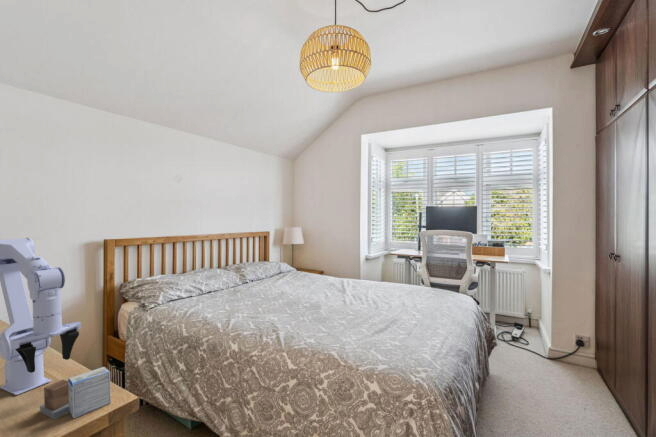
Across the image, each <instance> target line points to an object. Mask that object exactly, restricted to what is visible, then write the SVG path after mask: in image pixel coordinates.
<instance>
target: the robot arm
mask: <svg viewBox="0 0 656 437" xmlns="http://www.w3.org/2000/svg"><path fill="white" fill-rule="evenodd" d="M34 242H35V241H34V240H33V239H32V238H31V237H25V238H23V237H22V238H11V239H9V238H8V239H0V287H1V289H2V296H3V299H4V304H5V308H6V313H7V316H8V317H7V318H8V321H9V326H8V327H6V328H5V329H4V330H3V331H2V332H1V333H0V356H1V358H2V359H3V360H5V363H4V385H2V386H1V385H0V389H2V390H4V391H5V392H8V393H10V394H12V395H15V396H18V395H20V394H23V393H25V392H28V391H30V390H33V389H35V388H39V387H40V386H43V385H45V384H48V383H50V382H51V380H52V379H51V378H48V377H45V373H44V372H45V371H44V353H46V349H48V348H49V346H50V345H51V340H52V339H51V338H53V337H57V336H60V342H61V353H62V354H61V355H62V359H64V360H66V361H68V360H70V358H71V354H72V350H73V348H74V345H75V344H76V341H77V339H78V338H79V336H80V331H79V330H82V322H80V321H75V322H74V321H73V322H70V323H66V324H63V317H62V316H63V313H62V310H63V309H62V289H63V288H64V287H65V285H66V284H65V283H66V277H65V276H66V275H65V272H64V269H62V267H60V266H59V267H53V266H52V265H51V264H50V263H48V262H47V261H46V260H45V258H43V257H42V256H40V255H35V252H36V251H35V250H36V249H35V243H34ZM22 275H23V276H22ZM23 277H24V278H25V279H26V280H27V281H26V284H27V289H28V291H29V298H30V300H31V301H32V302H31V303H32V310H31V307H30V303H29V300H28V296H27V291H26V288H25V283H24V280H23ZM31 311H32V312H31Z"/></svg>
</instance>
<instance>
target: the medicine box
mask: <svg viewBox="0 0 656 437" xmlns="http://www.w3.org/2000/svg"><path fill="white" fill-rule="evenodd" d="M67 381H68V392H69V411H70V412H69V413H70V414H71V416H72V418H73V419H77V418H79V417H81V416H84V415H85V414H88V413H91V412H93V411H95V410H98V409H99V408H102V407H104V406H105V407H106V406H107V405H110V404H111V403H112V396H111V394H112V393H111V391H112V390H111V371H109V369H108V368H107V367H105V366H102V367H99V368H95V369H92V370H90V371H87V372H83V373H80V374H78V375H75V376H72V377H69V378H68V379H67Z"/></svg>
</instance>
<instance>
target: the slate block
mask: <svg viewBox="0 0 656 437" xmlns="http://www.w3.org/2000/svg"><path fill="white" fill-rule="evenodd" d="M39 412H40V413H42V414H43V415H45V416H47V417H49V418H51V419H52V420H57V419H58V418H60V417H62V416H64V415H66V414H68V413H70V411H69V404H67V405H65V406H63V407H61V408H59V409H57V410H55V411H53V410H51V409H48V408H46V407H45V404H44V403H43V404H41V405H39Z"/></svg>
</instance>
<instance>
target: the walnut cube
mask: <svg viewBox="0 0 656 437" xmlns="http://www.w3.org/2000/svg"><path fill="white" fill-rule="evenodd" d="M43 396H44V399H43V400H44V403H43V404H45V407H46V408H48V409H51V410H53V411H55V410H57V409H59V408H61V407H63V406H65V405H67V404H69V392H68V380H67V379H66V380H65V379H60V380H57V381H55V382H53V383H51V384H48V385H46V386H44V387H43Z"/></svg>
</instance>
